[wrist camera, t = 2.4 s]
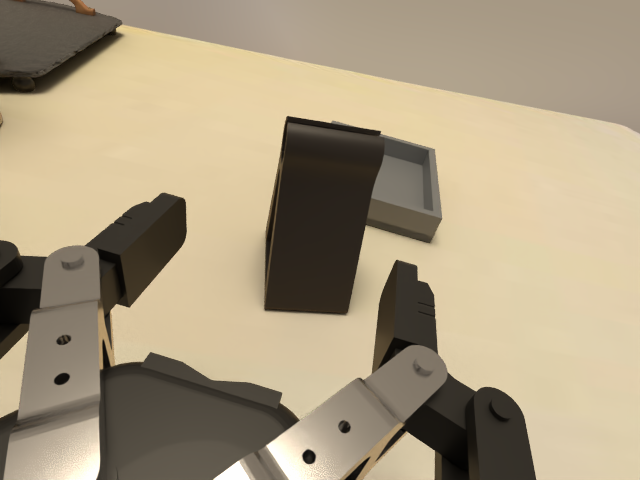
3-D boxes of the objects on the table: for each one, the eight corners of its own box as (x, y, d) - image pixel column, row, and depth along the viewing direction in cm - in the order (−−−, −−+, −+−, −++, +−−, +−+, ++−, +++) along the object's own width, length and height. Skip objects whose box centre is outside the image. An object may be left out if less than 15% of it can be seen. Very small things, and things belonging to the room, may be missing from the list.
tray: (296, 204, 37) (301, 177, 35) (327, 142, 50) (332, 120, 48) (429, 243, 36) (442, 218, 34) (425, 169, 49) (434, 149, 47)
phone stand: (346, 315, 27) (402, 170, 20) (263, 310, 26) (289, 154, 18) (332, 237, 34) (369, 107, 26) (265, 230, 33) (285, 93, 25)
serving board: (34, 107, 42) (17, 48, 38) (-229, 70, 37) (-279, -2, 33) (131, 34, 71) (127, -4, 67) (-8, 7, 66) (-21, -35, 63)
